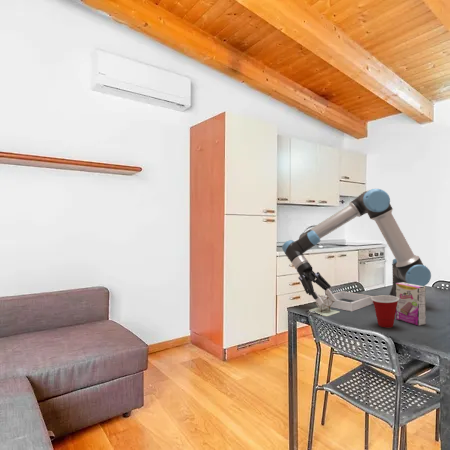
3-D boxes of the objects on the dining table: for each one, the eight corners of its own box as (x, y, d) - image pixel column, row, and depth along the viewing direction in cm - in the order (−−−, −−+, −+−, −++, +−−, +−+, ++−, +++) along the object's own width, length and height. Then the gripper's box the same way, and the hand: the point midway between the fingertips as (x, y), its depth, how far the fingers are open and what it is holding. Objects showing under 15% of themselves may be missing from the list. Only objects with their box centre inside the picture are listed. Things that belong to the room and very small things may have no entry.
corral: (373, 303, 183) (373, 296, 183) (351, 311, 169) (351, 303, 168) (342, 298, 196) (342, 291, 196) (320, 304, 182) (320, 297, 182)
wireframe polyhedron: (327, 319, 168) (335, 307, 161) (310, 311, 169) (318, 300, 162) (329, 305, 174) (337, 293, 168) (313, 298, 175) (321, 286, 169)
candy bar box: (395, 319, 155) (394, 283, 154) (402, 317, 157) (402, 281, 156) (418, 326, 145) (418, 287, 144) (426, 324, 147) (426, 286, 146)
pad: (339, 312, 167) (339, 311, 167) (326, 316, 160) (326, 315, 160) (318, 307, 176) (318, 306, 176) (305, 311, 169) (305, 310, 169)
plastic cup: (366, 322, 151) (366, 295, 151) (390, 321, 152) (389, 294, 152) (379, 330, 140) (379, 300, 140) (404, 329, 141) (404, 300, 141)
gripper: (312, 268, 187) (337, 303, 174) (283, 272, 174) (308, 310, 162) (320, 259, 182) (346, 294, 170) (291, 263, 170) (317, 301, 157)
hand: (328, 302), depth 166 cm, fingers open, 9 cm apart
